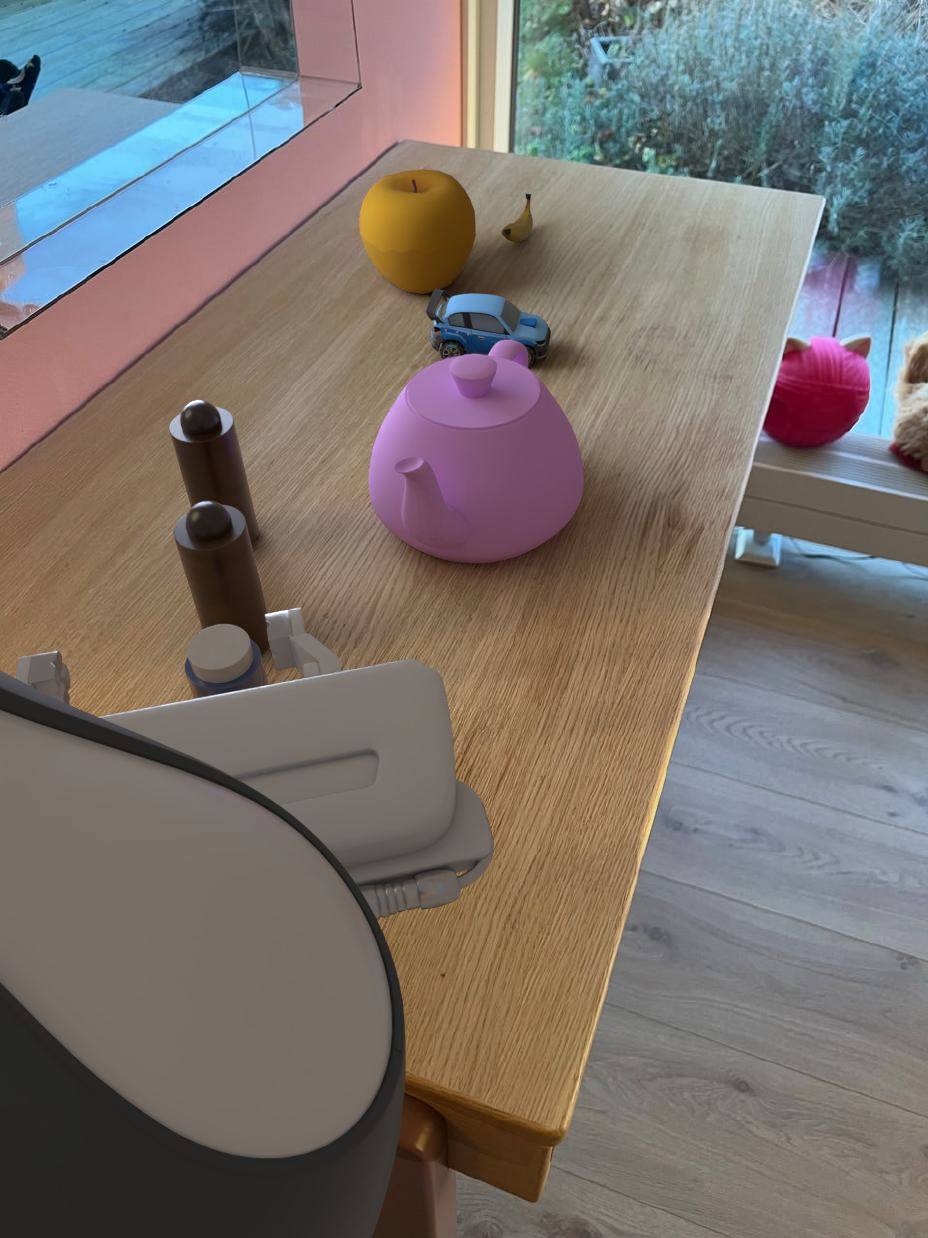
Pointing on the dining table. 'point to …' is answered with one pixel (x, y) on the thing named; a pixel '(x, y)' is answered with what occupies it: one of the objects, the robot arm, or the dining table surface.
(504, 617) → the dining table surface
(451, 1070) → the dining table surface
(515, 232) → the banana
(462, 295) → the toy car
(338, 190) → the dining table surface
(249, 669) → the blue shaker
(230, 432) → the far mill
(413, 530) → the teapot
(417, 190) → the apple
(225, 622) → the near mill
